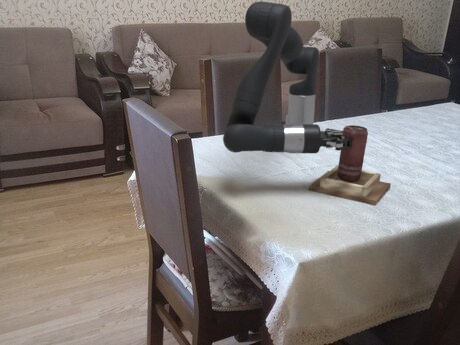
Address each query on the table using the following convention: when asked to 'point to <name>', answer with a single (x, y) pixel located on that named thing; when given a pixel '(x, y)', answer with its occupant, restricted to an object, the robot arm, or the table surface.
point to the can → (353, 154)
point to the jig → (352, 186)
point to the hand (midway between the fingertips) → (365, 139)
